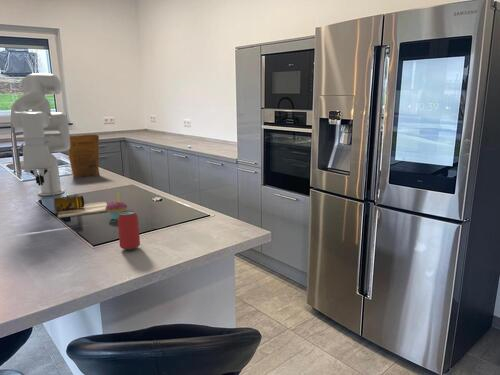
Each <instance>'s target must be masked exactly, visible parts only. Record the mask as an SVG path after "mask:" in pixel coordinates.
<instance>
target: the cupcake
mask: <svg viewBox="0 0 500 375" xmlns="http://www.w3.org/2000/svg"><path fill="white" fill-rule="evenodd" d="M116 199H117V200H116V201H112V202H109V203H108V204H107V206H106V211H107V212H106V213H108V214H109V216H110V218H111V219H112V220H117V221H118V216H119V213H120V212H122V211H126V210H127V209H128V206H127V204H126V203H125V202H123V201H121V200H120V190H118V192H117V198H116Z"/></svg>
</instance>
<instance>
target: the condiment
mask: <svg viewBox="0 0 500 375" xmlns="http://www.w3.org/2000/svg"><path fill="white" fill-rule="evenodd" d="M52 198H53V206H54V212H55V213H57V212H58V211H64V210H71V209H77V208H80V207H84V204H85V200H84V196H83V195H78V196H77V195H70V196H69V195H68V196H60V197H59V196H58V197H55V195H54V194H53V195H52Z"/></svg>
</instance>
